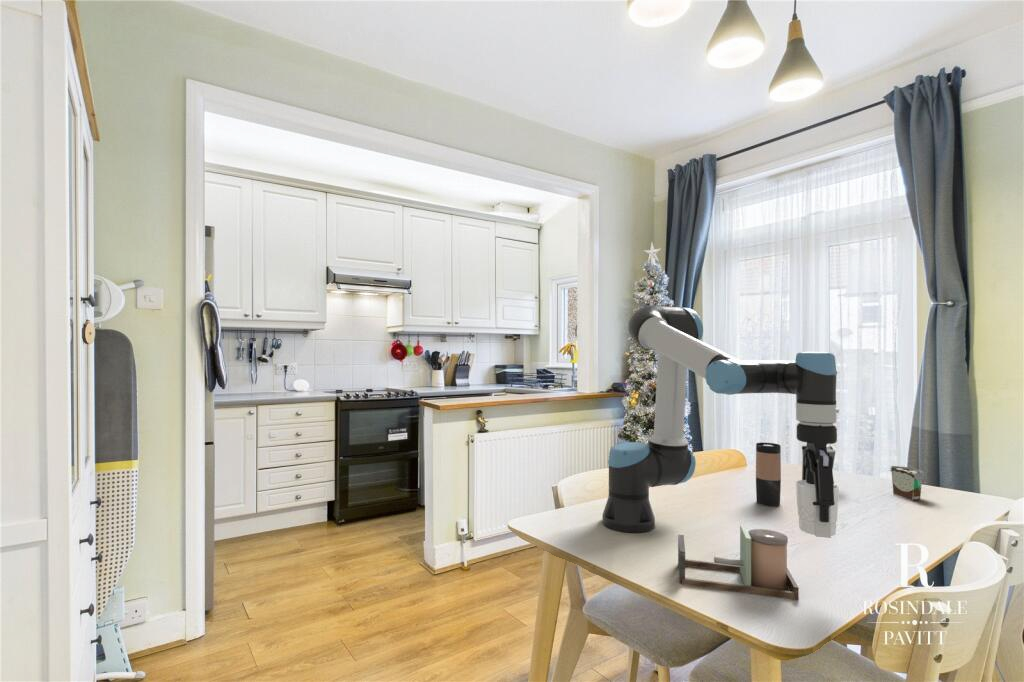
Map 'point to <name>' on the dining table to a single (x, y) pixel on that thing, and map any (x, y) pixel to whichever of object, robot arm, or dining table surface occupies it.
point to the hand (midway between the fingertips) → (817, 530)
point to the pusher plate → (741, 556)
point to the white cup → (812, 507)
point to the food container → (907, 482)
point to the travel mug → (768, 474)
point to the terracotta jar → (768, 559)
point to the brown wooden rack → (727, 586)
